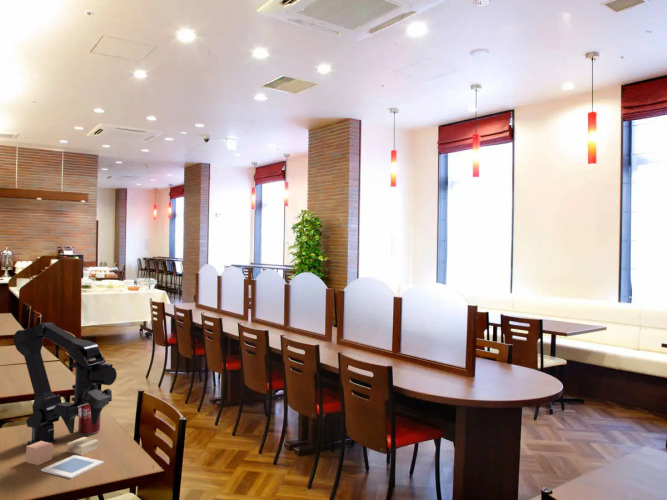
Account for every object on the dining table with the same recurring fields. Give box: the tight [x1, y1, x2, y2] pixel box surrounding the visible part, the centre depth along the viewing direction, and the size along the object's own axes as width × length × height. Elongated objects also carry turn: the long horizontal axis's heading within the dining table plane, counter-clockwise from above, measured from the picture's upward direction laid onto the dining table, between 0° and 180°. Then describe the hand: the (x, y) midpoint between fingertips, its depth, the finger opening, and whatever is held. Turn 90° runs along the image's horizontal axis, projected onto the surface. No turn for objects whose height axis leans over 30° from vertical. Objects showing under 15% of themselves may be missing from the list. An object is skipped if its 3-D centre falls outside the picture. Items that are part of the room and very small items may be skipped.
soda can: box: [77, 404, 102, 436], centre depth 184 cm, size 7×7×12 cm
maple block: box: [66, 436, 99, 456], centre depth 168 cm, size 6×6×3 cm
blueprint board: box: [40, 454, 105, 479], centre depth 155 cm, size 12×12×1 cm
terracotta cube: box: [25, 441, 54, 466], centre depth 159 cm, size 5×5×5 cm
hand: (83, 428), depth 168 cm, fingers open, 9 cm apart
